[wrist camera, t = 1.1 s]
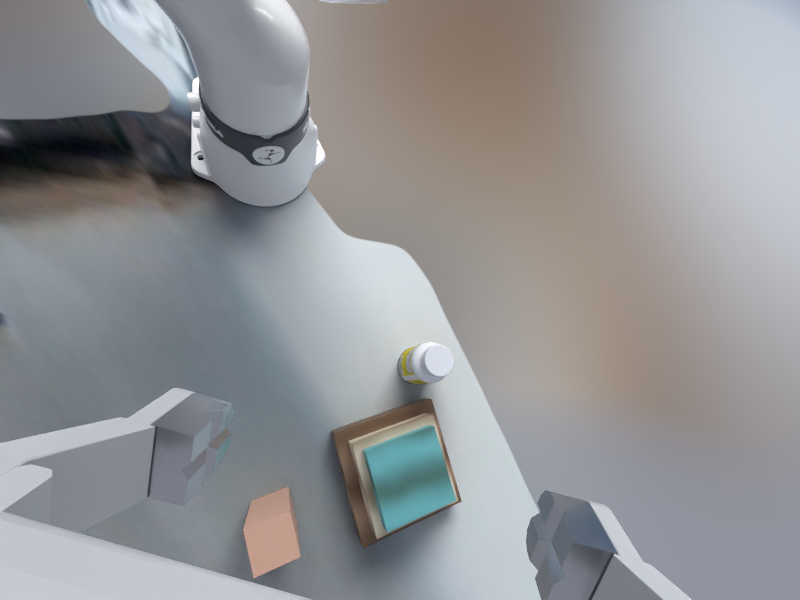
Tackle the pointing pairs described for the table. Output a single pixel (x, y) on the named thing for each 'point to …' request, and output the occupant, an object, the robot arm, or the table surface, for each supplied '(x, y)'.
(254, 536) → the capstone brick
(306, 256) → the table surface
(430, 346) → the supplement bottle
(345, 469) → the block tower
